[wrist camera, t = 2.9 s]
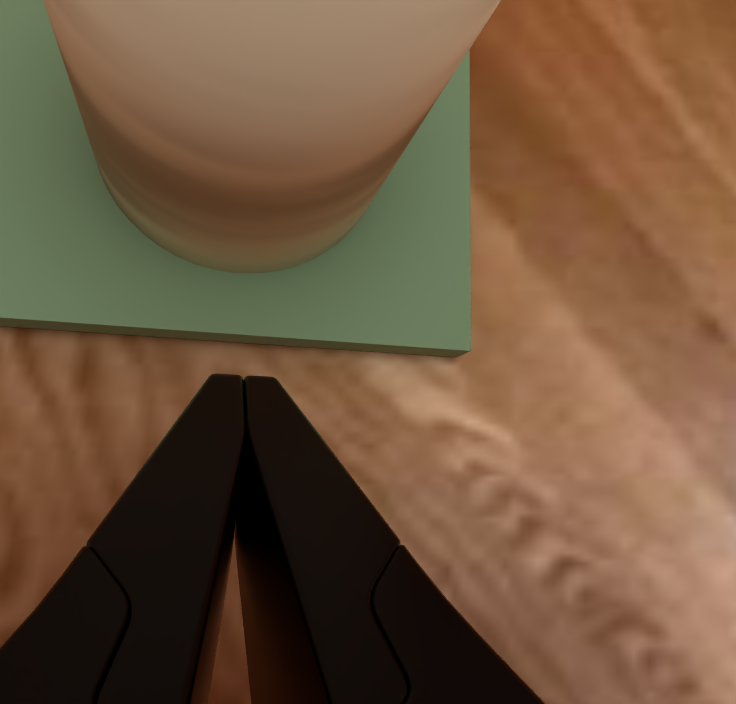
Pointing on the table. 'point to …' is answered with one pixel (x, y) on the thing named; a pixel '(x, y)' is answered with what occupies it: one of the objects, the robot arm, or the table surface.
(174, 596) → the robot arm
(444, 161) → the putting mat
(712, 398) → the table surface
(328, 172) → the birch cylinder
